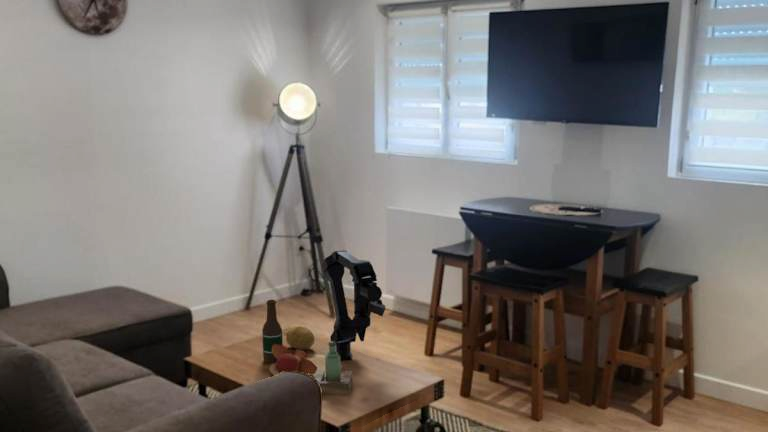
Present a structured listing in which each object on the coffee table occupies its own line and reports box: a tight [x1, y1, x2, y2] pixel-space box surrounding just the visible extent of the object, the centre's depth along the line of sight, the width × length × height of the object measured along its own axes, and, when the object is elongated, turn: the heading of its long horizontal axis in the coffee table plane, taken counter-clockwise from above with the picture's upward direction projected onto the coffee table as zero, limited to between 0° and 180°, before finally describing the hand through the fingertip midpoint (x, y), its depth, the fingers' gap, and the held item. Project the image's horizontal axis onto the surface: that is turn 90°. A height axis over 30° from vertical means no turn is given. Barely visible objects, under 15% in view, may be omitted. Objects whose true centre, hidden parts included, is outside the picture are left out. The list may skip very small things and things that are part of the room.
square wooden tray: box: [314, 370, 353, 396], centre depth 247 cm, size 12×12×4 cm
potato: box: [285, 325, 315, 351], centre depth 288 cm, size 10×13×9 cm
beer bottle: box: [261, 299, 284, 365], centre depth 273 cm, size 8×8×24 cm
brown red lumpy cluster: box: [272, 344, 318, 375], centre depth 261 cm, size 20×9×15 cm
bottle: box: [324, 340, 342, 381], centre depth 246 cm, size 5×5×15 cm
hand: (362, 337), depth 261 cm, fingers open, 9 cm apart
